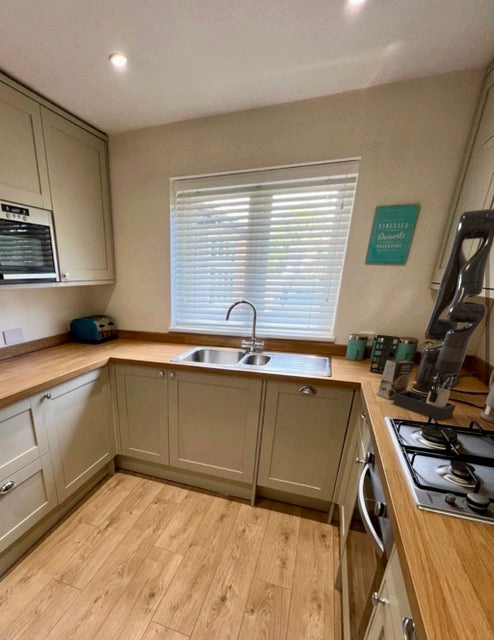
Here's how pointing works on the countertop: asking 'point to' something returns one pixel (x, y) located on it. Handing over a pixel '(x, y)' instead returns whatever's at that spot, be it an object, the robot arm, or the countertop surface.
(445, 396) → the cup
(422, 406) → the cup holder
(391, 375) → the coffee box
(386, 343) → the holder
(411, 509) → the countertop surface
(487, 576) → the countertop surface
